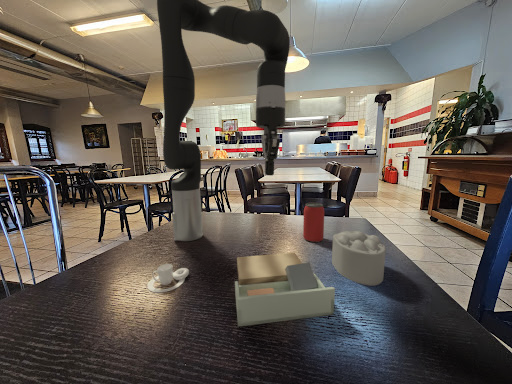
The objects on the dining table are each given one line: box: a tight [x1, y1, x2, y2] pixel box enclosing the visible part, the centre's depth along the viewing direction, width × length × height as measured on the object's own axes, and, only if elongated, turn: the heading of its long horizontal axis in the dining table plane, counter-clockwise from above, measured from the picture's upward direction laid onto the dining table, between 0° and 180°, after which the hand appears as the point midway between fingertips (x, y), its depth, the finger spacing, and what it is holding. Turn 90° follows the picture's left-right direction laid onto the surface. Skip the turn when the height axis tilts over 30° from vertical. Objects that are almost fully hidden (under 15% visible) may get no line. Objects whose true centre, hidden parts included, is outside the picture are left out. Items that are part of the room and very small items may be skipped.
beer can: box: [302, 202, 325, 243], centre depth 72 cm, size 7×7×12 cm
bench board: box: [236, 252, 303, 286], centre depth 51 cm, size 15×10×3 cm, turn 98°
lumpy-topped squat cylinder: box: [331, 230, 387, 287], centre depth 52 cm, size 10×13×9 cm
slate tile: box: [285, 262, 318, 291], centre depth 45 cm, size 5×5×2 cm
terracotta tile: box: [247, 288, 275, 296], centre depth 40 cm, size 5×5×2 cm
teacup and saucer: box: [146, 263, 190, 294], centre depth 49 cm, size 9×8×4 cm
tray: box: [234, 273, 336, 328], centre depth 41 cm, size 17×8×5 cm, turn 98°
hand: (269, 175), depth 59 cm, fingers closed
